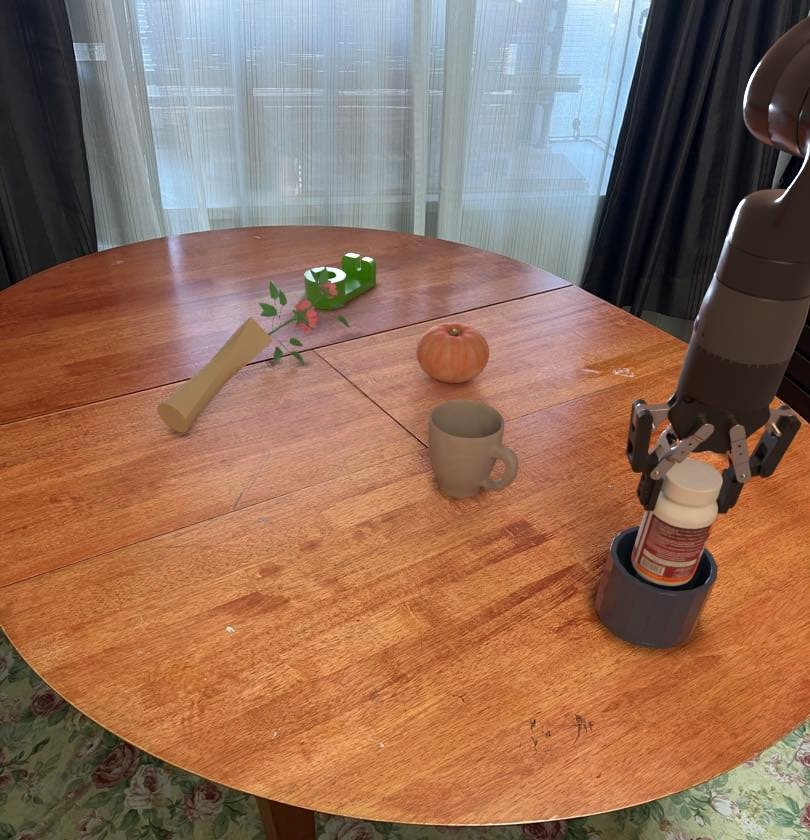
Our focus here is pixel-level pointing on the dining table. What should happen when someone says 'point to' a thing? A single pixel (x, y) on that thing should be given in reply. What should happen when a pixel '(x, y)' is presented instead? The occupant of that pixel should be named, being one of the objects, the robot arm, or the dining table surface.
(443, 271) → the dining table surface
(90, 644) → the dining table surface
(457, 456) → the mug
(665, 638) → the pen holder
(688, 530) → the pill bottle
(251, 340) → the flower vase
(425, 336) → the pumpkin
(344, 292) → the tape dispenser
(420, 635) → the dining table surface
